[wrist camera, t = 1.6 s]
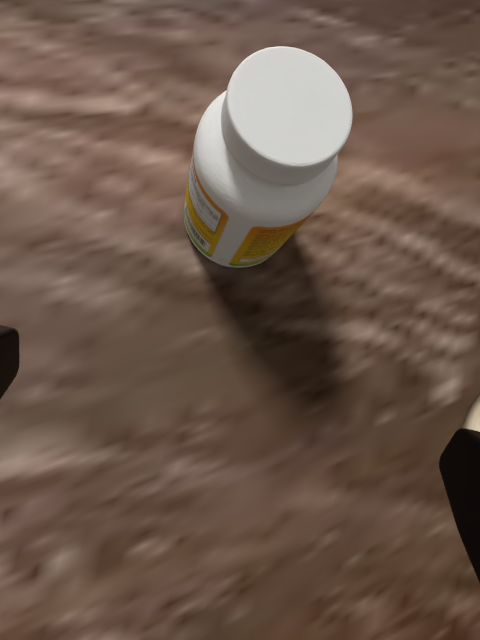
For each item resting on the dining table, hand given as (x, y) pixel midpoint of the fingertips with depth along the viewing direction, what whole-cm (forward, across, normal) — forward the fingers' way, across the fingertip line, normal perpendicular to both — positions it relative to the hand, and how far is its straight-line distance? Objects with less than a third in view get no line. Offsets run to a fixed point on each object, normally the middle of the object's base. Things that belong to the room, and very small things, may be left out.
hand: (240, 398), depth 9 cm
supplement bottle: (+16, -1, -1) cm, 16 cm away
